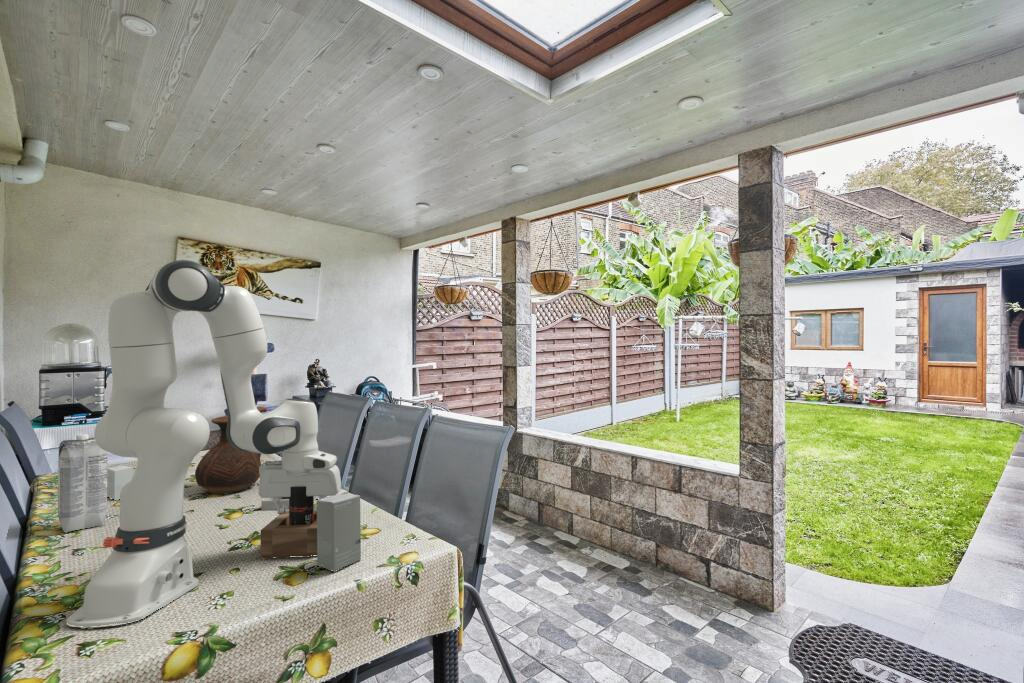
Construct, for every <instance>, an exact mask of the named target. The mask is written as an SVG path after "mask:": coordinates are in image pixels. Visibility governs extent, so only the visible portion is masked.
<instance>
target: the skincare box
mask: <svg viewBox="0 0 1024 683" xmlns="http://www.w3.org/2000/svg"><path fill="white" fill-rule="evenodd" d="M316 505H317V557H316V566H317V567H318V566H319V567H318V568H321V567H323V568H322V569H324V568H326V569H325V570H327V569H329V570H328V571H330V570H333V571H336V570H338V569H340V570H342V569H344V568H346V567H345V566H347V567H348V565H349V566H350V564H351V565H353V564H354V563H357V562H359V561H361V560H362V555H361V554H362V546H361V544H362V543H361V542H362V541H361V540H362V539H361V537H362V535H361V532H362V531H361V495H359V494H353V493H347V492H343V493H337V494H336V495H333V496H327V498H323V499H318V500H317V501H316ZM352 563H353V564H352ZM343 567H344V568H343ZM341 568H342V569H341ZM338 571H339V570H338ZM336 572H337V571H336Z"/></svg>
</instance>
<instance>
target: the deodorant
mask: <svg viewBox="0 0 1024 683" xmlns="http://www.w3.org/2000/svg"><path fill="white" fill-rule="evenodd" d="M290 491H291V495H290V497H289V509H288V511H289V525H310V524H312V523H313V522H314V510H315V503H314V496H307V495H306V486H302V487H290Z"/></svg>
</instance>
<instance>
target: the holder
mask: <svg viewBox="0 0 1024 683" xmlns="http://www.w3.org/2000/svg"><path fill="white" fill-rule="evenodd" d="M311 555H312V556H313V555H317V513H315V509H314V522H313V523H312V524H310V525H289V510H286V513H284V514H278V515H277V516H276V517H275V518H273V520H271V521H270V522H268V523H267V524H266V525H265V526H263V528H262V529H260V559H261V558H269V559H274V558H273V557H290V556H311Z"/></svg>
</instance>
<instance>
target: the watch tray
mask: <svg viewBox="0 0 1024 683" xmlns="http://www.w3.org/2000/svg"><path fill="white" fill-rule="evenodd" d="M318 498H319V496H314V501H315V500H316V499H318ZM318 500H319V499H318ZM280 501H281V503H282V505H283V506H286V509H287V510H289V499H281V500H280ZM276 510H277V511H278V508H277V507H276V505H275V504H274V502H273V498H263V499H262V500H261V511H276Z"/></svg>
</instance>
